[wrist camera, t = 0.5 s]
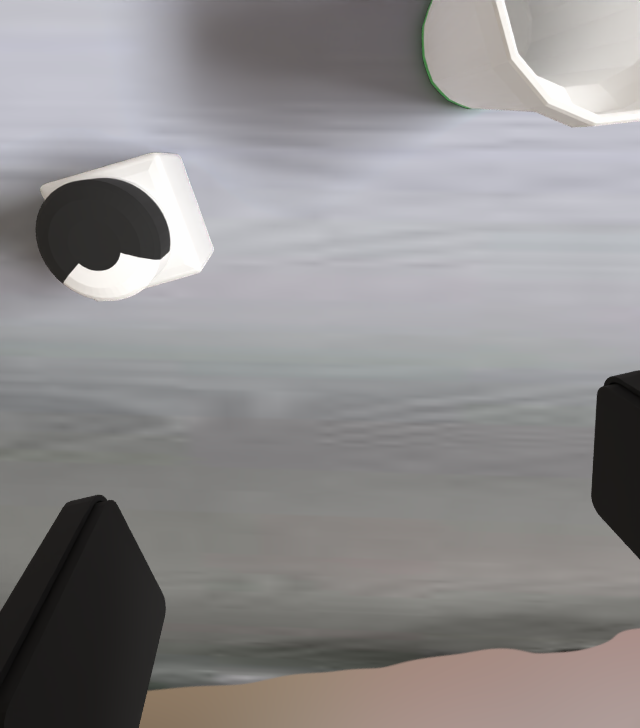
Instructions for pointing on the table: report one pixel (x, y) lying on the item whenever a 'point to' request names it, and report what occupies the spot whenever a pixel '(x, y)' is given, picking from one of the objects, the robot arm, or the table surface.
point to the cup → (537, 57)
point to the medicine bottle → (123, 227)
